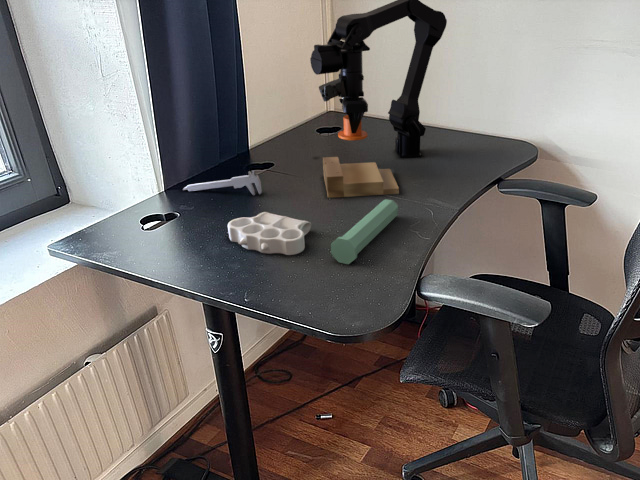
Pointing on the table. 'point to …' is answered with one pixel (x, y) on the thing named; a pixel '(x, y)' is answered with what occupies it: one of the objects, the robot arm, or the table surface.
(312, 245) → the table surface
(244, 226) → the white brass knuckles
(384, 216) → the mint green bar
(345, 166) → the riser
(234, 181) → the caliper
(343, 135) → the hat
